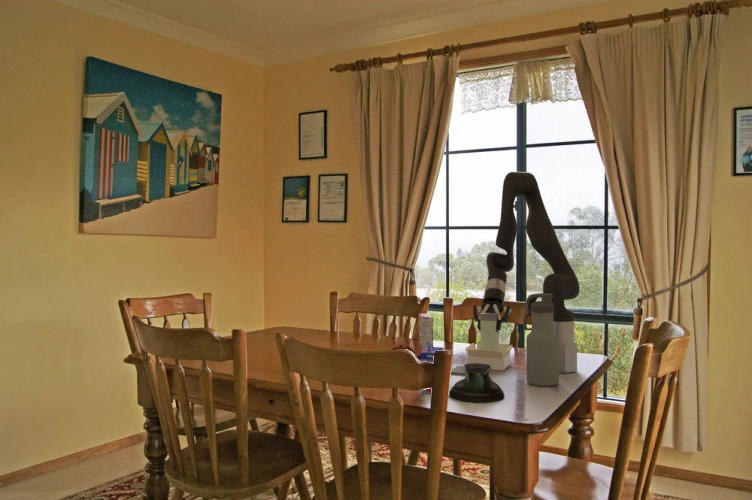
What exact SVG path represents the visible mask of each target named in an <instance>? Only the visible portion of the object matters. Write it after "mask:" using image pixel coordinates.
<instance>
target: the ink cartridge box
mask: <svg viewBox="0 0 752 500" xmlns="http://www.w3.org/2000/svg"><path fill="white" fill-rule="evenodd" d="M428 344H430V346H428ZM426 345H427V348H426V349H425V350H423V351H422V352H421V353H420V352H419V360H420V361H427V362H433V356H434V352H435V351H437V350H444V351H445V348H444V347H441V346H440V347H439V346H433V347H432V345H431V343H430V342H429V341H428V342H426ZM420 361H419V362H420ZM421 393H422V394H431V388H430V389H426V390H421Z"/></svg>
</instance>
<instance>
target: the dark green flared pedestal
mask: <svg viewBox="0 0 752 500" xmlns="http://www.w3.org/2000/svg"><path fill="white" fill-rule="evenodd" d="M463 366H464V370H465V372H466V376H465V377H464V378H462V379H460V380H458V381H456V382H455V383H454V384H453V386H452V387H450V389H451V390H450V389H449V390H450V391H449V396H448V398H451V399H452V400H454V401H458V402H461V403H465V406H470V404H471V403H472V404H488V403H489V404H490V403H496V402H500V401H503V400H504V399H505V393H504V390H503V389H502V388H501V386H500V385H499V384H498V383H496V381H494V380H492V379H491V377H490V370H492V369H491V366H490V365H488V364H480V363H471V364H468V363H464V364H463Z"/></svg>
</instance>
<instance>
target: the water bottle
mask: <svg viewBox="0 0 752 500" xmlns="http://www.w3.org/2000/svg"><path fill="white" fill-rule="evenodd" d="M539 298H541V300H538V299H539ZM551 298H553V294H546V293H543V292H539V293H532V294H530V295H528V297H526V300H525V309H527V313H526V314H525V315H524V316H523V328H524V329H523V330H524V331H530V332H529V333H528V334H527V336H526V338H525V339H526V340H525V342H526V347H525V348H526V351H525V352H526V382H527V383H528V384H529V385H531V386H535V387H544V388H545V387H555V386H557V385H559V383H560V373H559V338H558V336H557V335H556V334H555V333H554V332H553V314H554V308H553V307H554V304H553V303H552V300H551ZM528 317H531V327H528V326H527V325H528V324H527V319H528Z"/></svg>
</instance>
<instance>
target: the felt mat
mask: <svg viewBox="0 0 752 500" xmlns="http://www.w3.org/2000/svg"><path fill="white" fill-rule="evenodd" d="M451 370H452V372H451V374H450V375H452V374H453V376H455V375H456V376H465V375H466V372H465V370H464V365H456V366H455V367H454V368H452V369H451Z"/></svg>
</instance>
